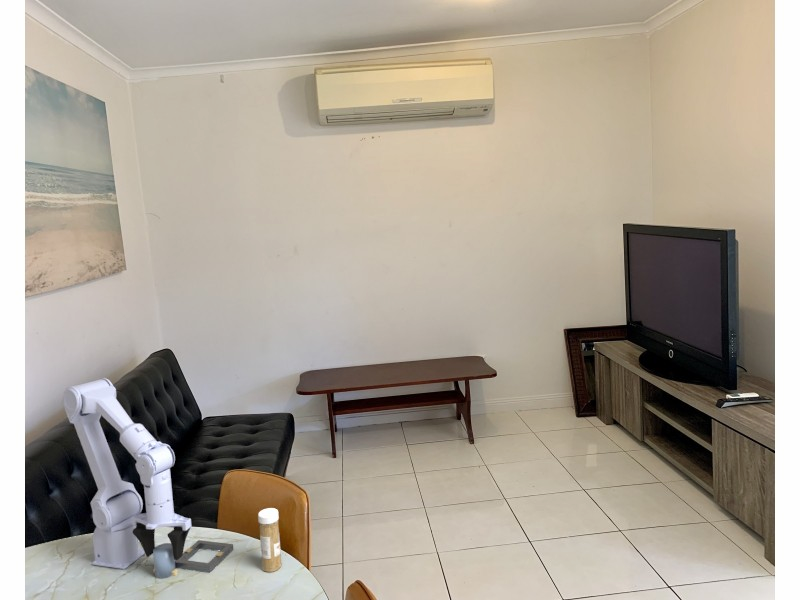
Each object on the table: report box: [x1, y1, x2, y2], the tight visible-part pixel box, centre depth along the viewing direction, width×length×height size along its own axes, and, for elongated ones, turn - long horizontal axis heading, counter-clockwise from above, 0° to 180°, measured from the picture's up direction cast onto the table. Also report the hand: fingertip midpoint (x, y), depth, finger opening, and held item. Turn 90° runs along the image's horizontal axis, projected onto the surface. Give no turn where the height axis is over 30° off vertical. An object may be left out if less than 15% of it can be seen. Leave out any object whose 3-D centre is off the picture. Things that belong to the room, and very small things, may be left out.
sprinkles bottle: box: [257, 507, 283, 573], centre depth 130 cm, size 5×5×14 cm
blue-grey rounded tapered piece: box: [152, 542, 179, 579], centre depth 130 cm, size 6×4×6 cm
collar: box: [175, 539, 235, 573], centre depth 135 cm, size 10×10×2 cm
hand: (164, 556), depth 130 cm, fingers open, 7 cm apart
